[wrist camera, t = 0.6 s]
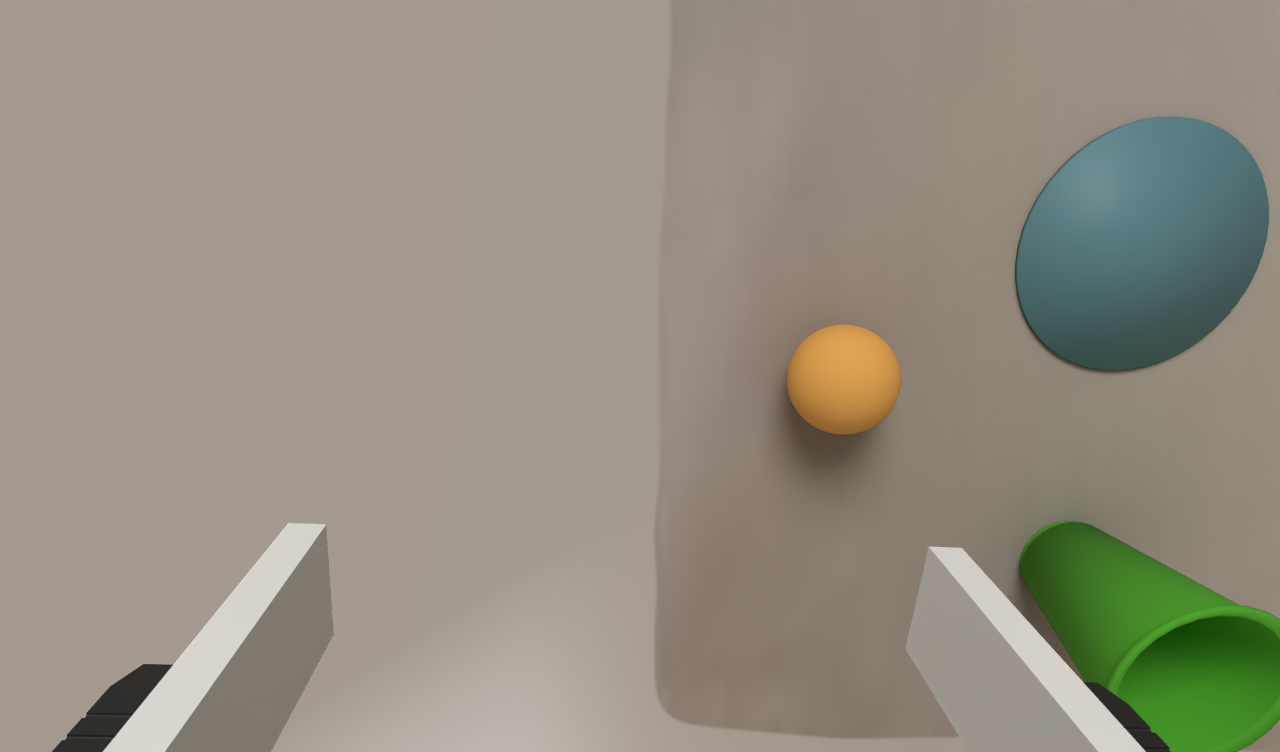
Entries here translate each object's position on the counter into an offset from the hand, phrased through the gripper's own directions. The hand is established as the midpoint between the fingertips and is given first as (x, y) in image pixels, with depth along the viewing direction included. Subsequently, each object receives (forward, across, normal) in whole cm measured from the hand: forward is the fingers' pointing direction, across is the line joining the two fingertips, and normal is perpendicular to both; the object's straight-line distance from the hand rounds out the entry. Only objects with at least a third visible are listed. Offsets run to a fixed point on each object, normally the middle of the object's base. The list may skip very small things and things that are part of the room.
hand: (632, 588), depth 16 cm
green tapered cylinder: (+22, +28, -12) cm, 38 cm away
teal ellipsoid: (+22, +27, +6) cm, 35 cm away
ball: (+20, +12, -1) cm, 23 cm away
